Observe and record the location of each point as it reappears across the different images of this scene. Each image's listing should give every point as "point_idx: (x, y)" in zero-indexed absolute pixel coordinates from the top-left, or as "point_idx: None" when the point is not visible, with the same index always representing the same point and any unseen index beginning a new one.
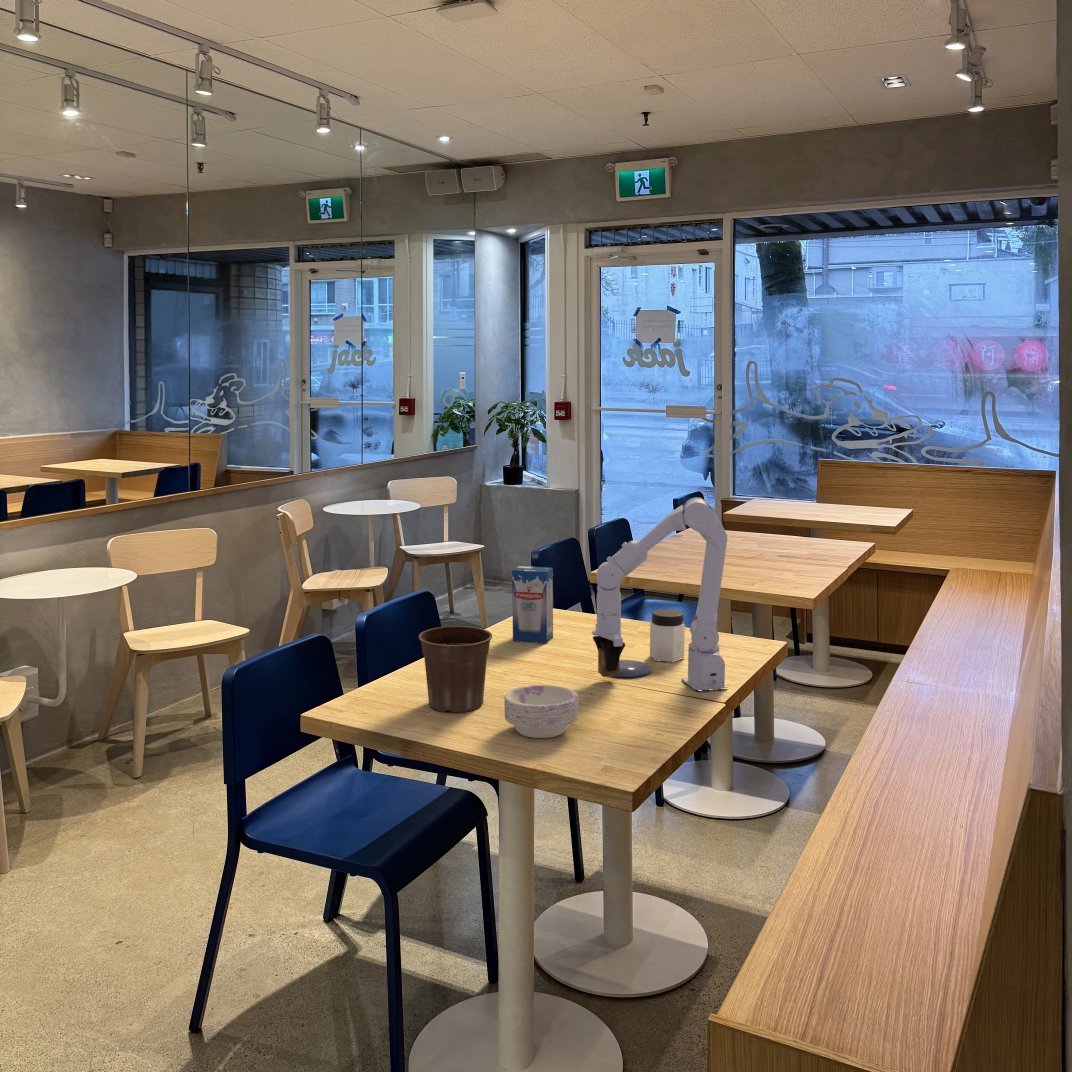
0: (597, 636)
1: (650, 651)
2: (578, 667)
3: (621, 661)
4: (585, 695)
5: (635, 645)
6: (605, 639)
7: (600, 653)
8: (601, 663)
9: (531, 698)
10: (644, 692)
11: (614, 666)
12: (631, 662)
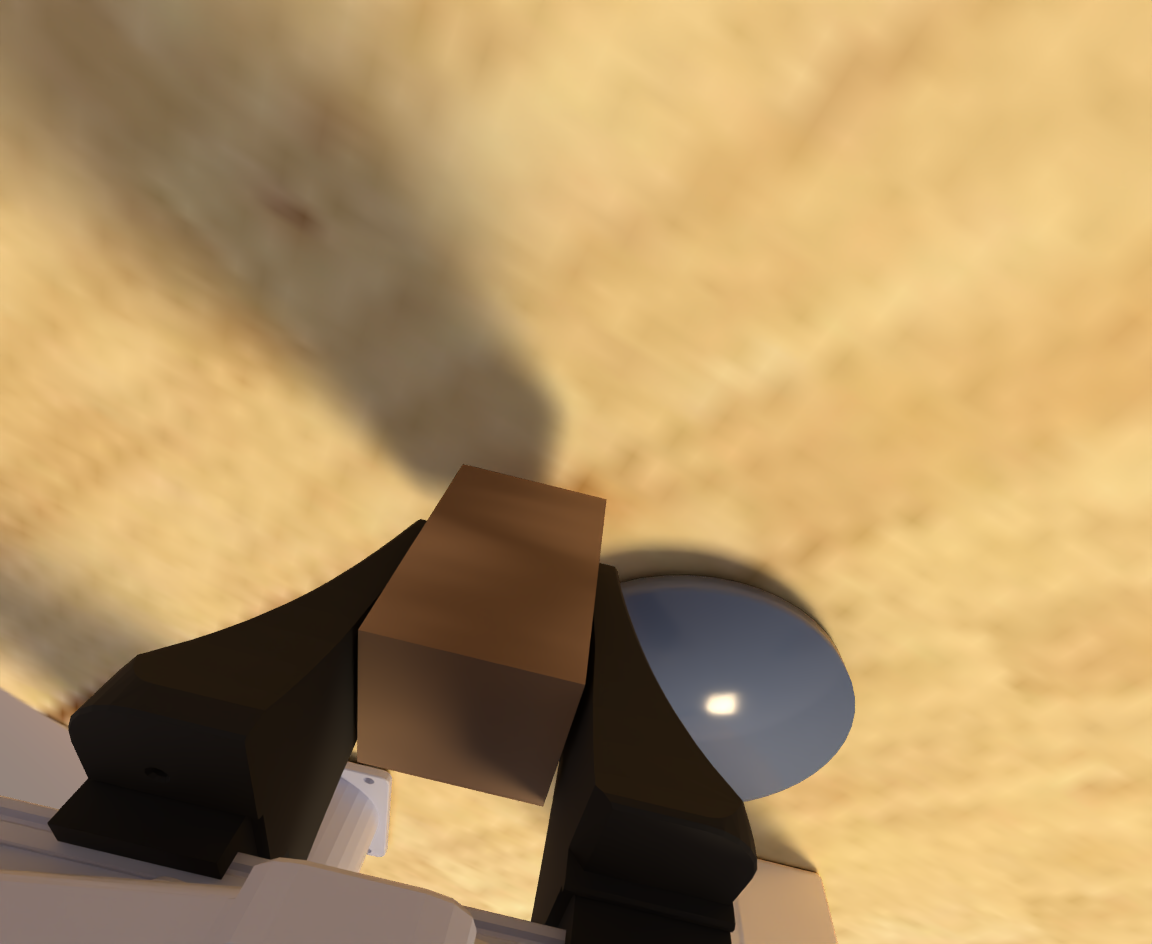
0: (705, 882)
1: (816, 906)
2: (994, 510)
3: (801, 751)
4: (253, 134)
5: (1037, 925)
6: (557, 868)
7: (495, 623)
8: (489, 542)
9: None
10: (248, 555)
11: None
12: (739, 772)
